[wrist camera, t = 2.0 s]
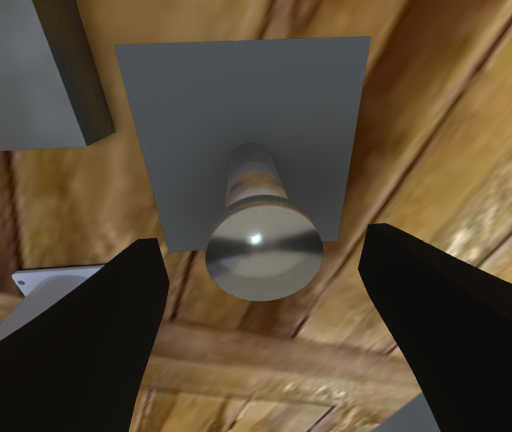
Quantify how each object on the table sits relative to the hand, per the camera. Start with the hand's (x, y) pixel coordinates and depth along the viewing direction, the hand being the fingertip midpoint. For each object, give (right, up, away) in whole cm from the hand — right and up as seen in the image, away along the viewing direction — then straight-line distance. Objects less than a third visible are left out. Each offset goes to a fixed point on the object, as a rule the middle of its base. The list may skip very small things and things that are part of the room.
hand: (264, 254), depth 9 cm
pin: (-1, +5, +8) cm, 10 cm away
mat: (-1, +5, +9) cm, 10 cm away
